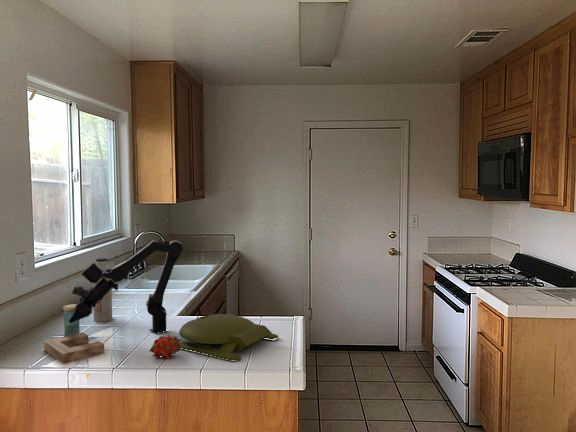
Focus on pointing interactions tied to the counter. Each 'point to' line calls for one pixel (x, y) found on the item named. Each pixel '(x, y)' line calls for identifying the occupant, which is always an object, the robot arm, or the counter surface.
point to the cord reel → (68, 327)
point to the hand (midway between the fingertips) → (71, 319)
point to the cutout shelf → (73, 348)
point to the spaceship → (222, 334)
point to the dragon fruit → (165, 346)
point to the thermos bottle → (105, 305)
